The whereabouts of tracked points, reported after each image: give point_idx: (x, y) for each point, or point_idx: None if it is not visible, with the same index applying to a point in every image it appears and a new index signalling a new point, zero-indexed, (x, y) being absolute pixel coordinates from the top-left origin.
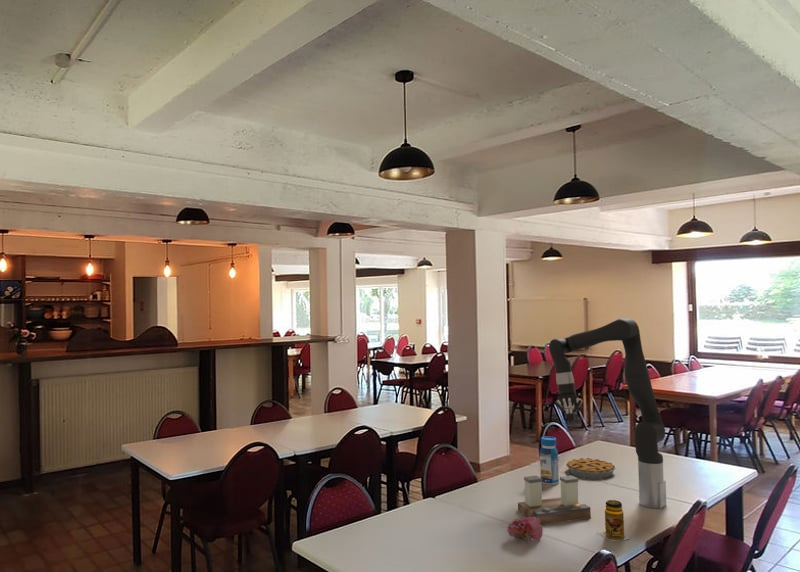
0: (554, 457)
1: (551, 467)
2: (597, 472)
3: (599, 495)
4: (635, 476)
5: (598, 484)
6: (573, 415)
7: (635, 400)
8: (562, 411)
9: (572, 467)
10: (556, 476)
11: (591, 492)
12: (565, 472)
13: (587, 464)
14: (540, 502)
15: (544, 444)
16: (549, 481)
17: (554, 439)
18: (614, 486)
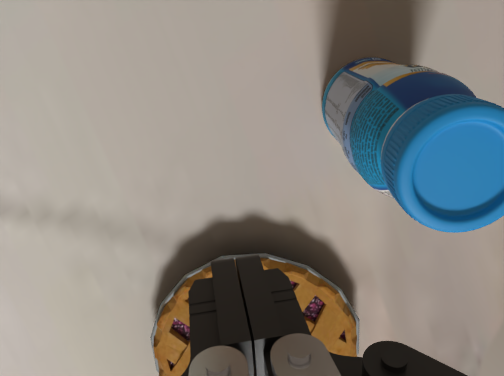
0: (361, 106)
1: (362, 76)
2: (192, 276)
3: (94, 44)
4: (91, 365)
5: (165, 197)
6: (191, 344)
7: None
8: (410, 356)
9: (313, 280)
10: (331, 95)
11: (142, 67)
12: (348, 279)
13: None
14: None
15: (468, 96)
16: (356, 61)
17: (402, 157)
18: (99, 207)
